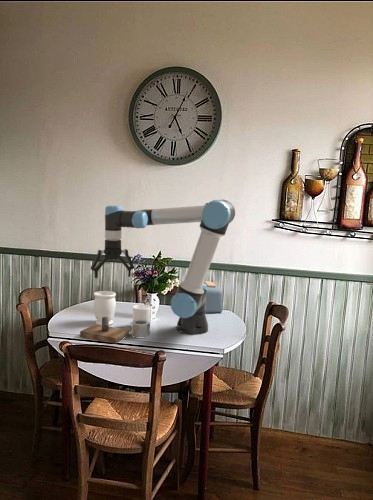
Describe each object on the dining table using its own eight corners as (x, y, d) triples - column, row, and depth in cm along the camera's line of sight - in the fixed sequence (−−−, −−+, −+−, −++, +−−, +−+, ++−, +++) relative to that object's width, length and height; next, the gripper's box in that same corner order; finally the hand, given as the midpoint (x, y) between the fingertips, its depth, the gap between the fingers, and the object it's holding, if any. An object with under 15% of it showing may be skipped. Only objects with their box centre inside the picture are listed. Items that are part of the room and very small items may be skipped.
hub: (152, 334, 213) (152, 321, 212) (143, 339, 206) (144, 326, 205) (137, 331, 216) (137, 318, 215) (128, 336, 209) (128, 323, 208)
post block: (129, 335, 209) (129, 317, 208) (115, 343, 198) (116, 324, 197) (94, 329, 216) (95, 311, 215) (80, 336, 205) (80, 318, 203)
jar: (110, 327, 219) (111, 296, 217) (90, 325, 221) (90, 294, 219) (118, 321, 230) (119, 291, 227) (98, 318, 232) (99, 289, 229)
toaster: (187, 306, 264) (188, 278, 262) (214, 305, 268) (215, 278, 266) (195, 314, 248) (196, 285, 246) (223, 313, 253) (225, 285, 250)
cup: (130, 329, 219) (130, 308, 217) (137, 321, 230) (138, 301, 229) (147, 330, 217) (147, 310, 216) (153, 323, 229) (154, 303, 227)
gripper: (137, 238, 222) (136, 281, 225) (84, 238, 212) (84, 283, 216) (141, 239, 215) (140, 284, 218) (87, 240, 206) (87, 287, 209)
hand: (112, 284), depth 217 cm, fingers open, 13 cm apart
